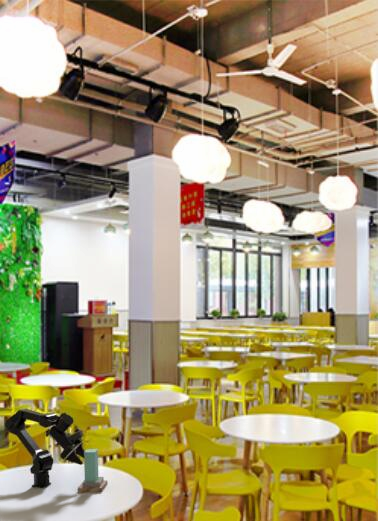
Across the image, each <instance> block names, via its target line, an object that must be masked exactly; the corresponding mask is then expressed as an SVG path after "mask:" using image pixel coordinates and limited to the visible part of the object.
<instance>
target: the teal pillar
mask: <svg viewBox="0 0 378 521" xmlns="http://www.w3.org/2000/svg"><path fill="white" fill-rule="evenodd" d="M84 451H85V452H84V458H83V460H84V461H83V462H84V463H83V464H84V468H83V469H84V480H85V482H96V481H97V479H98V477H99V449H98V448H95V449H94V448H92V449H90V448H89V449H86V450H84Z"/></svg>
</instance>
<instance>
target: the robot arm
mask: <svg viewBox="0 0 378 521" xmlns="http://www.w3.org/2000/svg"><path fill="white" fill-rule="evenodd" d="M57 414H58V413H55V412H45V413H44V412H40V411H39V412H38V411H35V410H31V409H29V408H27V407H26V408H21V409H18V410H17V411H16V412H15V413H14V414H12V415H11V416H10V417H9V418H7V419H6V421H5V423H4V427H5V430H7V431H8V432H9V433H10V434H12V435H14V436H16V437H17V438H18V440H19V441H20V442H21V444H22V445H23V446H24V448H25V450H27V453H29V454H30V456H31V457H32V465H31V467H30V469H29V470H30V474H33V484H32V485H31V487H34V488H43V489H44V488H46V487H47V486H50V485H51V484H52V482H50V473H49V472H50V471H52V469H53V465H54V458H53V455H52V454H51V453H50V451H49V450H48V449H43V450H42V449H41V447H40V446H39V445H38V444H37V442H36V440H35V439H34V438H33V437H32V436H31V435H30V434H31V433H29V432H28V431H27V428H26V421H27V420H29V421H32V422H35V423H38V426H40V427H42V428H45V429H46V428H48V429H47V430H46V431H45V437H46V438H48V437H49V436H50V437H51V438H52V440H54V441H55V442H56V445H57V446H60V447H61V448H62V449H63V450H62V451H61V453H60V457H59V458H61V460H62V461H64V460H65V461H68V462H71V463H75V464H77V465H80V466H82V465H83V464H84V463H83V462H84V461H83V460H82V459H81V458H83V459H84V452H85V451H86V450H85V448H84V440H83V439H82V438H83V437H84V436H85V435H84V431H83V430H82V429H80V428H76V429H75V430H74V432H73V433H70V432H67V430H69V428H70V427H71V426H72V425H73V423H74V418H73V417H72V416H71V414H70V415H69V414H68V413H66V412H62V413H60V414H59V415H57ZM80 457H81V458H80Z"/></svg>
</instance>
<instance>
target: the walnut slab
mask: <svg viewBox="0 0 378 521" xmlns="http://www.w3.org/2000/svg"><path fill="white" fill-rule="evenodd" d="M107 486H108V480H104V482H103V483H102V485H101V486H100V487H82V483H81V484H80V485H79V486H78V487H77V493H103V492H104V490H105V488H106V487H107Z"/></svg>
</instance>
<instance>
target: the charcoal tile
mask: <svg viewBox="0 0 378 521" xmlns="http://www.w3.org/2000/svg"><path fill="white" fill-rule="evenodd" d="M104 481H105V480H104V476H98V479H97V481H96V482H85V479H84V480H83V481H82V482H81V484H82V487H100V486H101V485H102V483H103V482H104Z"/></svg>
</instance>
